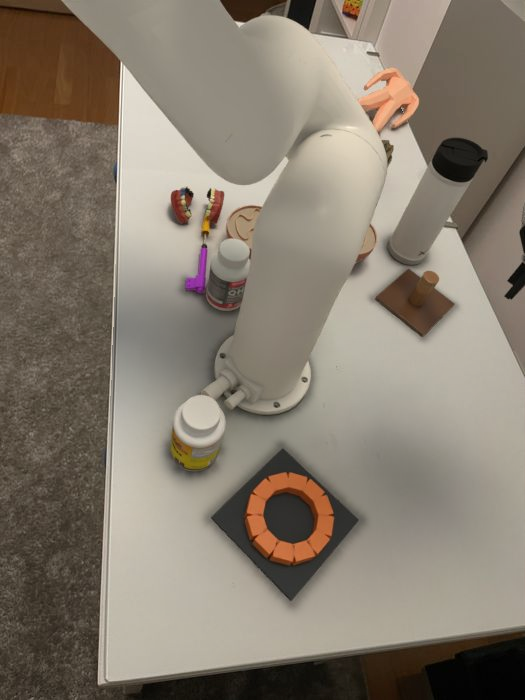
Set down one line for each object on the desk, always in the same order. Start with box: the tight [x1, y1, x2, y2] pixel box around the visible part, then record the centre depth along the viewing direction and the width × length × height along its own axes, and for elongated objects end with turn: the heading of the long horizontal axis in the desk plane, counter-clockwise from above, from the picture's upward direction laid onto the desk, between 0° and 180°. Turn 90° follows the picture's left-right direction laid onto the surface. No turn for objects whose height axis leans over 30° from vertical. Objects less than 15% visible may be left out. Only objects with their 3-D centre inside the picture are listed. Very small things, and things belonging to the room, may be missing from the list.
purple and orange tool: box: [185, 215, 211, 295], centre depth 81 cm, size 3×1×16 cm
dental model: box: [170, 185, 225, 225], centre depth 84 cm, size 6×4×8 cm
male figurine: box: [357, 67, 420, 133], centre depth 108 cm, size 11×5×25 cm
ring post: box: [374, 268, 455, 337], centre depth 82 cm, size 9×9×6 cm
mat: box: [211, 447, 360, 601], centre depth 62 cm, size 12×12×1 cm
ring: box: [244, 472, 334, 565], centre depth 61 cm, size 10×10×2 cm
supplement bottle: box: [170, 394, 227, 472], centre depth 61 cm, size 6×6×10 cm
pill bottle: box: [205, 238, 251, 312], centre depth 74 cm, size 5×5×10 cm
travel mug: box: [387, 137, 489, 266], centre depth 82 cm, size 6×7×20 cm
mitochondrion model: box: [225, 204, 378, 264], centre depth 83 cm, size 23×10×5 cm, turn 97°
